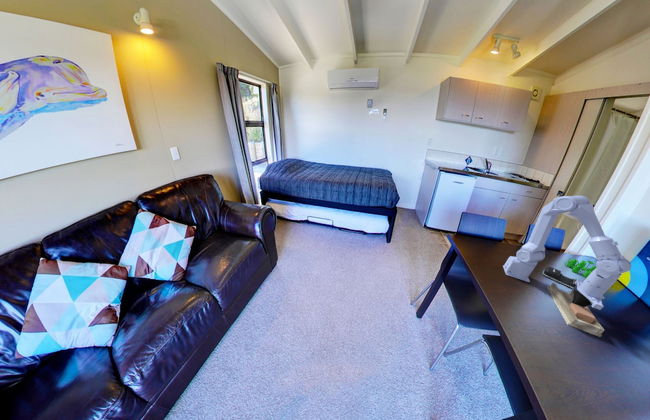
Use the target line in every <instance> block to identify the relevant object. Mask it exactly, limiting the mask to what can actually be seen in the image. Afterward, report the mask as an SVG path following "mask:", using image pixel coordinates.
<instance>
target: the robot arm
mask: <svg viewBox="0 0 650 420" xmlns="http://www.w3.org/2000/svg"><path fill="white" fill-rule="evenodd" d="M566 213H568V215H570V216H572V217H575V218H577V219H579V220H580V222H581V223H582V225H583V227H584V228H585V230H586V232H587V234H588V235H589V236H590V239H589V240H588V243H589V246H590V247H591V250H592V252H593V254H594V256H595V258H596V259H597V261H596V263H595V266H596V269H595V270H593V271H592V272H591V274H590V275H589V276H588V277H587V278H586V277H585V279H584V280H579V279H577V280H576V281H575V282H574V283H575V284H576V289H573V293H574V296H573V300H572V303H573V304H576V305H579V306H582V307H586V306H587V307H590V306H591V307H592V308H593V309H596V310H599V311H601V310H602V309H603V308H604V307H605V306H604V305H603V301H602V300H604V299H605V298H606V297H605V296H604V294H605V293H606V292H607V291H608V290H609V289H610V288H611V287H612V286H613V285H614V284H615V283H616V282H617V281H618V279H619V278H620V277H621V276H622V274H625V273H628V272H630V270H631V269H632V264H631V261H630V260H628V259H626V257H625V256H624V255H622V253H621V251H620V250H619V248H618V246H619V243H618V242H617V241H614V239H613V238H611V237H609V236H607V235H606V234H605V232H604V230H603V227H602V226H601V223H600V221H599V219H598V216H597V214H596V212H595V208H594V205H593V204H592V203H591V202H590V199H589V198H588V197H586V196H585V195H579V194H578V195H569V196H568V195H564V196H558V197H555V198H553V200H552V201H550V202H549V203H547V204H546V205H544V206H543V207H542V209H541V211H540V213H539V215H538V218H537V220H536V222H535V225H534V228H533V229H532V231H531V234H530V236H529V239H528V241H527V242H526V243H525V244H523V245H522V246H521V247H520V249H519V250H517V251H516V256H512V255H510V256H509V257H508V258H507V260H506V262H505V263H504V265H502V267H503V270H504V273H505V275H506V276H510V277H512V278H515V279H518V280H520V281H524V282H527V283H531V279H530V278H529V276H530V275H531V273H532V272H533V271H534V269H535V268H536V266H537V265H538V263H539V262H542V261H543V260H544V259H545V257H546V254H545V251H546V247H545V244H546V242H547V240H548V238H549V236H550V233H552V232H551V231H552V229H553V227H554V225H555V223H556V220H557V218H558V216H559V215H561V214H566Z"/></svg>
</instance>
